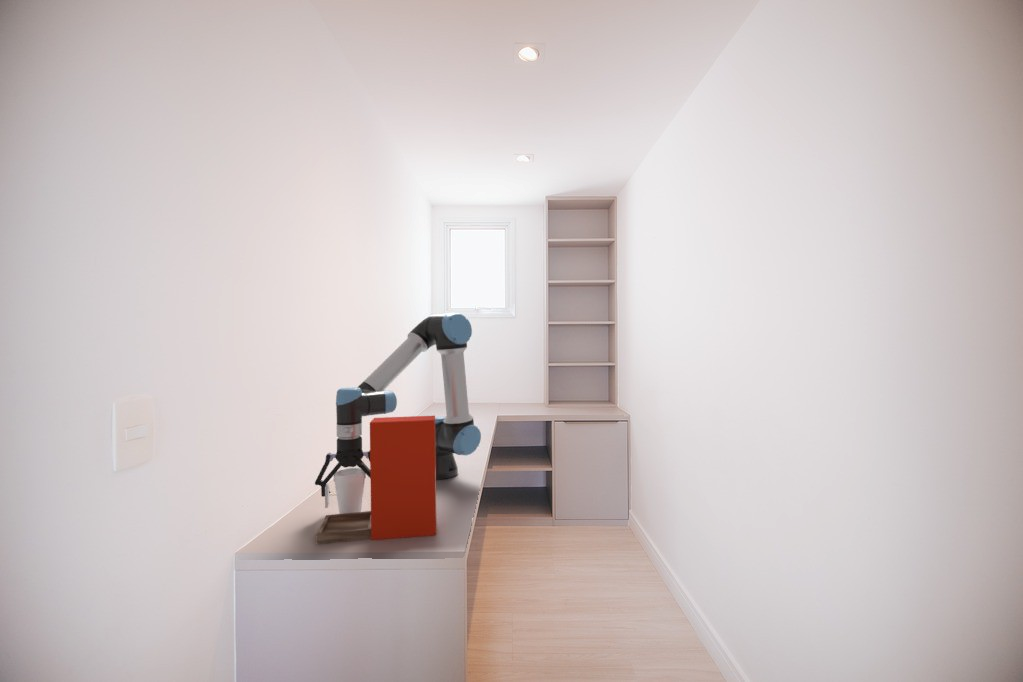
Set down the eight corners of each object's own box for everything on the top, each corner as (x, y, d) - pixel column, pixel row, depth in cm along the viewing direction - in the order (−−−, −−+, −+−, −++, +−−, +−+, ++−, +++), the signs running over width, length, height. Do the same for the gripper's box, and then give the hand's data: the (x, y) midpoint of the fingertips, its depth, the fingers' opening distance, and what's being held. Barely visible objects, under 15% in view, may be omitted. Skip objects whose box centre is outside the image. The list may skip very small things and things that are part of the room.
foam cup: (358, 505, 148) (357, 466, 148) (371, 512, 141) (370, 471, 141) (329, 513, 141) (328, 472, 141) (341, 521, 134) (341, 478, 134)
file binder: (435, 536, 123) (434, 419, 123) (371, 540, 121) (369, 422, 121) (436, 524, 131) (435, 415, 131) (375, 528, 129) (374, 417, 129)
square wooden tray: (326, 523, 133) (325, 515, 133) (375, 518, 136) (375, 510, 136) (316, 544, 119) (316, 534, 119) (371, 538, 122) (371, 529, 122)
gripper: (304, 441, 135) (304, 512, 135) (389, 436, 140) (390, 504, 140) (309, 436, 142) (310, 503, 142) (390, 432, 148) (391, 496, 147)
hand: (350, 504), depth 141 cm, fingers open, 13 cm apart
